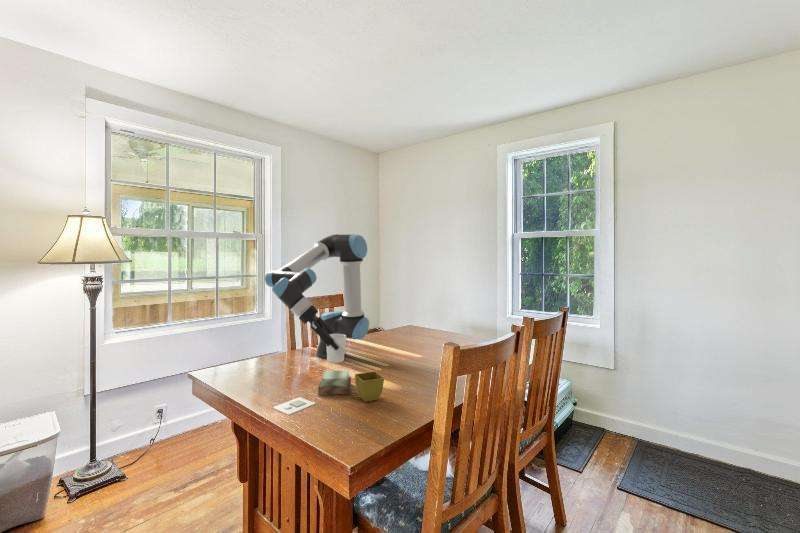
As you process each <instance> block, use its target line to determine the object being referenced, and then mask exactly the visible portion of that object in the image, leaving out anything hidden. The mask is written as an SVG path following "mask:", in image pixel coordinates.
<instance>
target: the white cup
mask: <svg viewBox="0 0 800 533" xmlns="http://www.w3.org/2000/svg"><path fill="white" fill-rule="evenodd" d="M329 335H330V336H331V337H332V338H333V339H334V340H335V341H336V342H337V343H338V344H339V345H340V346H341V347H342V348H343V349H344V350H345V351H346V349H345V346H346V345H347V344H346V343H347V338H346V335H344V334H329ZM326 361H327V362H328V363H329V362H330V363H342V362H344V361H345V355H343V356H342V357H341V356H340V355H339V354H338V353H337V352H336V351H335V350H334V349H333V348H332V347H331V346H330V345H329V346H327V358H326Z"/></svg>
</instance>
